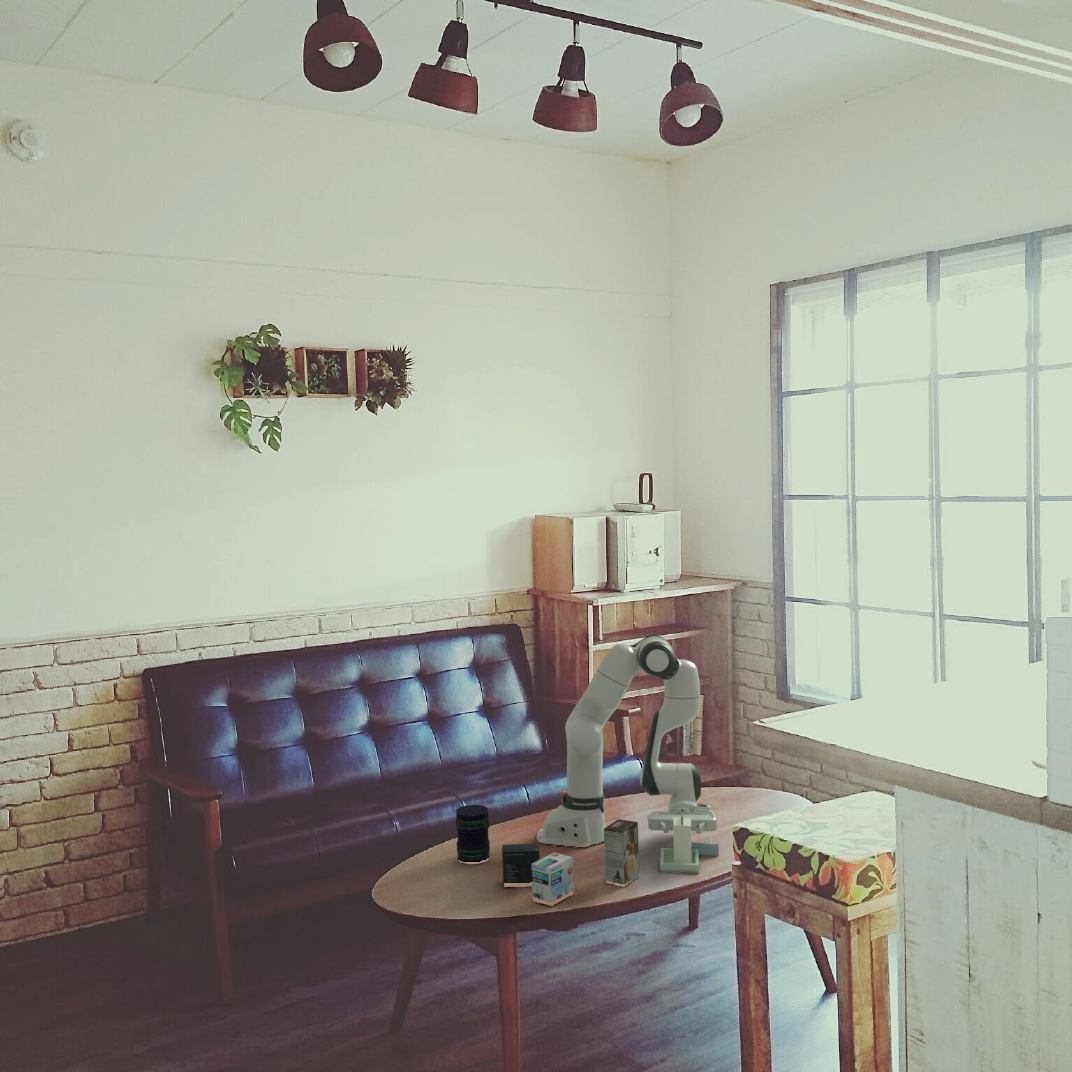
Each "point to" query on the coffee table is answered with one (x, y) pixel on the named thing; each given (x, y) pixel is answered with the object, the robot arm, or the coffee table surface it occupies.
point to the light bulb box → (552, 877)
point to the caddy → (682, 840)
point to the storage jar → (472, 833)
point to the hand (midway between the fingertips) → (682, 830)
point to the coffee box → (621, 851)
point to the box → (519, 862)
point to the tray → (670, 866)
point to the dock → (706, 848)
